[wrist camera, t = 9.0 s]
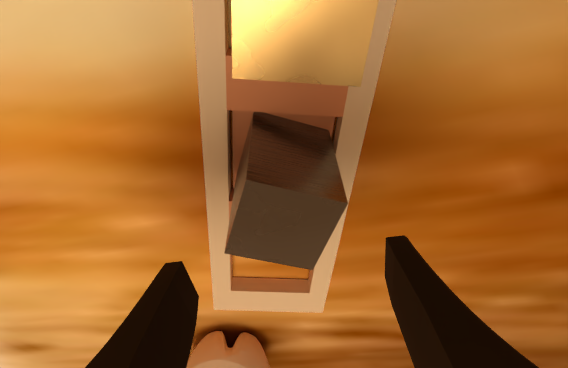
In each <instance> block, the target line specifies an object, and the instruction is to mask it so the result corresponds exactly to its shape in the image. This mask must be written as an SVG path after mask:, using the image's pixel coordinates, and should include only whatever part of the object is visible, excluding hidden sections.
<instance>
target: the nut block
mask: <svg viewBox="0 0 568 368" xmlns="http://www.w3.org/2000/svg"><path fill="white" fill-rule="evenodd" d="M347 204H348V201H347V197H346V194H345V190H344V186H343V182H342V178H341V175H340V171H339V167H338V163H337V159H336V156H335V152H334V148H333V144H332V140H331V137H330V133H329V130H327V129H323V128H319V127H316V126H312V125H308V124H305V123H301V122H297V121H294V120H290V119H286V118H282V117H279V116H275V115H271V114H268V113H264V112H253V115H252V119H251V123H250V126H249V130H248V134H247V137H246V141H245V145H244V148H243V152H242V156H241V159H240V163H239V167H238V170H237V174H236V181H235V187H234V194H233V200H232V207H231V213H230V220H229V226H228V233H227V239H226V246H225V252H224V253H225V254H230V255H236V256H241V257H246V258H251V259H257V260H262V261H267V262H273V263H278V264H283V265H289V266H294V267H299V268H305V269H310V270H313V269H314V267H315V265H316V263H317V261H318V259H319V257H320V256H321V254H322V252H323V250H324V248H325V246H326V244H327V242H328V240H329V239H330V237H331V235H332V233H333V231H334V229H335V227H336V225H337V223H338V221H339V220H340V218H341V216H342V214H343V212H344V210H345V208H346V206H347Z"/></svg>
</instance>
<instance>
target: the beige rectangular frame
mask: <svg viewBox="0 0 568 368" xmlns="http://www.w3.org/2000/svg"><path fill="white" fill-rule="evenodd" d="M395 5H396V0H379V1H378V6H377V11H376V16H375V20H374V25H373V30H372V35H371V40H370V44H369V49H368V54H367V59H366V63H365V68H364V73H363V78H362V82H361V87H354V86H339V85H324V84H309V83H294V82H279V81H264V80H248V79H233V78H232V48H229V47H228V0H192V7H193V21H194V35H195V49H196V63H197V77H198V92H199V106H200V120H201V134H202V148H203V163H204V177H205V191H206V205H207V219H208V234H209V248H210V262H211V276H212V290H213V305H214V310H240V311H278V312H316V313H323V309H324V305H325V301H326V297H327V292H328V288H329V284H330V280H331V275H332V271H333V267H334V263H335V259H336V254H337V250H338V246H339V242H340V237H341V233H342V229H343V225H344V220H345V216H346V212H347V208H348V204H349V199H350V195H351V191H352V187H353V182H354V178H355V174H356V170H357V165H358V161H359V157H360V153H361V148H362V144H363V140H364V136H365V132H366V127H367V123H368V119H369V115H370V110H371V106H372V102H373V98H374V93H375V89H376V85H377V81H378V77H379V72H380V68H381V64H382V60H383V55H384V51H385V47H386V43H387V38H388V34H389V30H390V26H391V22H392V17H393V13H394V9H395ZM230 110H232V138H233V188H231V165H230ZM253 112H264V113H268V114H271V115H275V116H279V117H282V118H286V119H290V120H294V121H297V122H301V123H305V124H308V125H312V126H316V127H319V128H323V129H327V130H329V133H330V137H331V138H332V132H333V127H334V121H335V117H337V121H336V127H335V133H334V138H333V148H334V152H335V156H336V159H337V163H338V167H339V171H340V175H341V178H342V182H343V186H344V190H345V194H346V197H347V201H348V204H347V206H346V208H345V210H344V212H343V214H342V216H341V218H340V220H339V221H338V223H337V225H336V227H335V229H334V231H333V233H332V235H331V237H330V239H329V240H328V242H327V244H326V246H325V248H324V250H323V252H322V254H321V256H320V257H319V259H318V261H317V263H316V265H315V267H314V269H313V270H310V272H309V278H308V279H279V278H247V277H232V255H230V254H225V253H224V252H225V246H226V239H227V233H228V226H229V220H230V213H231V207H232V200H233V194H234V187H235V181H236V174H237V170H238V167H239V163H240V159H241V156H242V152H243V148H244V145H245V141H246V137H247V134H248V130H249V126H250V123H251V119H252V115H253Z"/></svg>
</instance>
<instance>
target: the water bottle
mask: <svg viewBox="0 0 568 368" xmlns="http://www.w3.org/2000/svg"><path fill="white" fill-rule="evenodd" d="M186 368H270V366H269V363H268V360H267V357H266V355H265V352H264V350H263V348H262V346H261V344H260V342H259V341H258V340H257V338H256V337H255V336H253V335H251V334H249V333H247V332H243V333H241V334H240V335H239V336H238V338H237V340H236V342H235V344H234V346H233V347H232V348H229V347H227V344H226V340H225V336H224V334H223V333H222V331H214V332H211V333H209V334H207V335H206V336H205V337H204V338H203V339H202V340H201V341H200V342H199V343H198V345H197V346H196V348H195V349H194V351H193V353H192V354H191V356H190V358H189V359H188V363H187V367H186Z"/></svg>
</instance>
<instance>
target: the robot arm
mask: <svg viewBox="0 0 568 368" xmlns="http://www.w3.org/2000/svg"><path fill="white" fill-rule="evenodd" d="M385 279H386V283H387V288H388V292H389V296H390V300H391V304H392V307H393V309H394V312H395V315H396V318H397V321H398V323H399V326H400V329H401V332H402V334H403V337H404V340H405V342H406V345H407V348H408V351H409V353H410V356H411V359H412V362H413V364H414V367H415V368H539V367H537V366H536V365H535V364H533V363H532V362H531V361H529V360H528V359H527V358H525V357H524V356H523V355H521V354H520V353H519V352H518V351H516V350H515V349H514V348H513V347H512V346H510V345H509V344H508V343H507V342H506V341H504V340H503V339H502V338H501V337H500V336H498V335H497V334H496V333H495V332H494V331H493V330H492V329H491V328H489V327H488V326H487V325H486V324H485V323H484V322H483V321H482V320H481V319H479V318H478V317H477V316H476V315H475V314H474V313H473V312H472V311H471V310H470V309H469V308H468V307H467V306H466V305H465V304H464V303H463V302H462V301H461V300H460V299H459V298H458V297H457V296H456V295H455V294H454V293H453V292H452V291H451V290H450V289H449V287H448V286H447V285H446V284H445V283H444V282H443V281H442V280H441V279H440V278H439V276H438V275H437V274H436V273H435V272H434V271H433V270H432V269H431V267H430V266H429V265H428V264H427V263H426V261H425V260H424V259H423V258H422V256H421V255H420V254H419V253H418V251H417V250H416V249H415V248H414V246H413V245H412V244H411V242H410V241H409V239H408V238H407V237H406V236H395V237H387V238H386V253H385ZM198 299H199V296H198V294H197V292H196V290H195V288H194V285H193V283H192V281H191V279H190V277H189V275H188V273H187V271H186V269H185V267H184V265H183V263H182V261H180V262H172V263H165V265H164V266H163V267H162V269H161V270H160V271H159V273H158V274H157V276H156V277H155V279H154V280H153V281H152V283H151V284H150V286H149V287H148V289H147V290H146V291H145V293H144V294H143V296H142V297H141V298H140V300H139V301H138V303H137V304H136V305H135V307H134V308H133V309H132V311H131V312H130V314H129V315H128V316H127V318H126V319H125V320H124V322H123V323H122V324H121V325H120V327H119V328H118V329H117V330H116V332H115V333H114V334H113V335H112V337H111V338H110V339H109V341H108V342H107V343H106V344H105V345H104V347H103V348H102V349H101V350H100V351H99V353H98V354H97V355H96V356H95V357H94V358H93V359H92V361H91V362H90V363H89V364H88V365H87V366H86V367H85V368H186V367H187V363H188V358H189V354H190V349H191V345H192V340H193V336H194V331H195V327H196V320H197V310H198Z"/></svg>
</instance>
